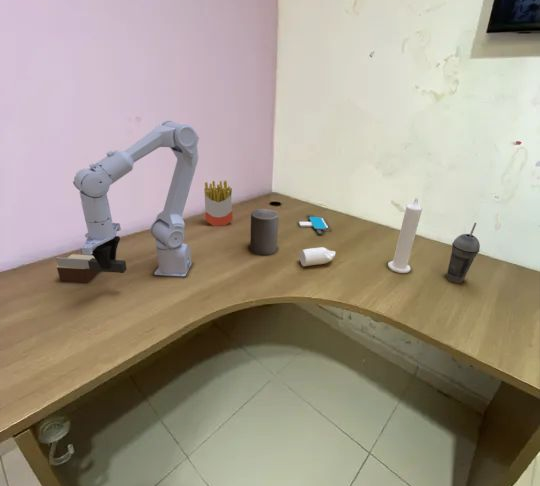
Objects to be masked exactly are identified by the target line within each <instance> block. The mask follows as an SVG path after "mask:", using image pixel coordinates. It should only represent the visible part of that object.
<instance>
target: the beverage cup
mask: <svg viewBox="0 0 540 486" xmlns="http://www.w3.org/2000/svg"><path fill="white" fill-rule="evenodd" d="M476 226H477V222H474V224H473V226H472V229H471V231H470V233H464V234H460V235H458V236H456V238H454V240H453V242H452V243H451V245H452V246H451V254H450V258H449V263H448V268H447V273H446V279H447V280H448V281H450V282H452V283H456V284H461V283H463V282H464V280H465V277H466V276H467V274H468V272H469V271H470V268H471V266H472V264H473V262H474V260H475V258H476V257H477V255H478V253H480V248H481V244H480V240H479V239H478V237H476V236H474V235H473V233H474V231H475V229H476Z"/></svg>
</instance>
